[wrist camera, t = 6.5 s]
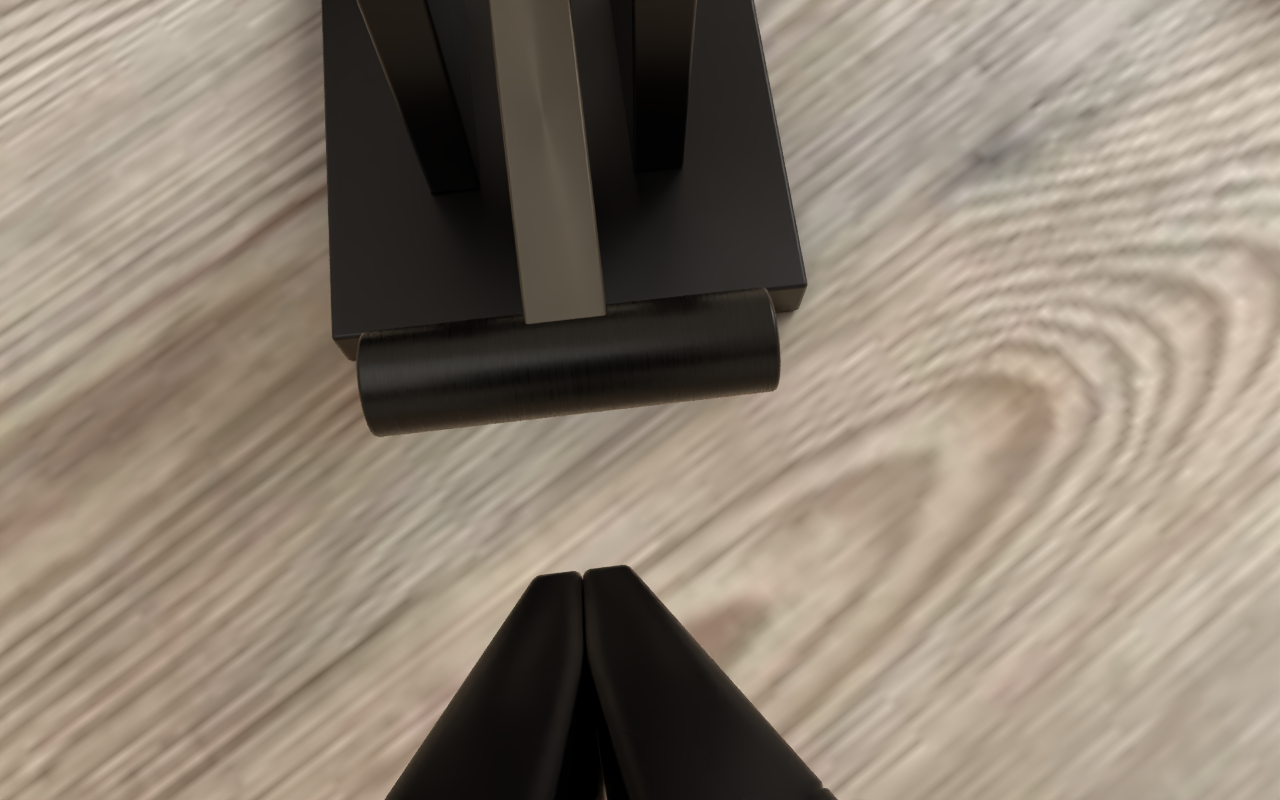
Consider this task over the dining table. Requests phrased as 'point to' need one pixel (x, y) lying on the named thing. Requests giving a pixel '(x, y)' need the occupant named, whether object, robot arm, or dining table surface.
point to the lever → (560, 285)
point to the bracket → (617, 147)
